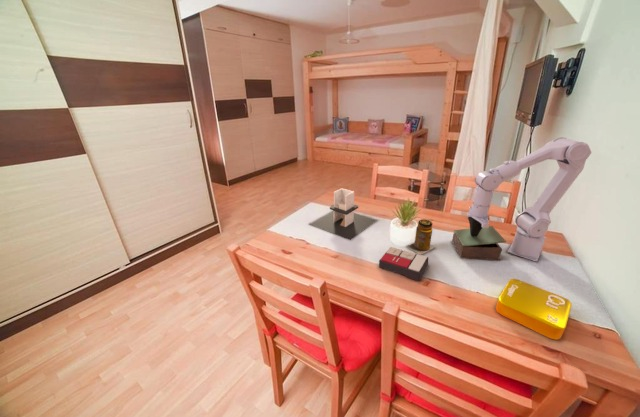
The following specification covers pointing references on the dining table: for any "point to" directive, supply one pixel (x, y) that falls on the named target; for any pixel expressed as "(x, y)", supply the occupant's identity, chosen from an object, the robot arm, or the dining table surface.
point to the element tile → (534, 308)
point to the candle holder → (343, 217)
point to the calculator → (404, 263)
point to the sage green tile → (479, 237)
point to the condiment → (422, 237)
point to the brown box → (477, 250)
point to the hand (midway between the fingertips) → (473, 235)
